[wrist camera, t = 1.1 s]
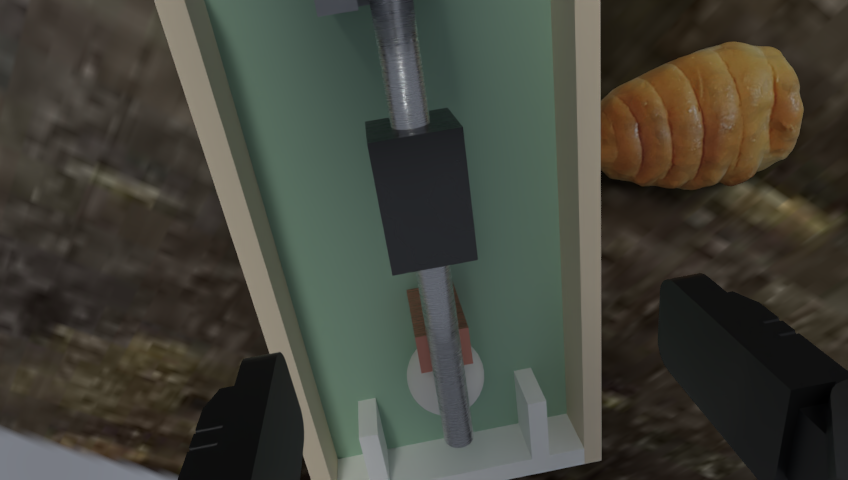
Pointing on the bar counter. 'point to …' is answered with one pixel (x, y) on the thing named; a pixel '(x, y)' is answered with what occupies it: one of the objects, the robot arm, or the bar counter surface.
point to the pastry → (702, 119)
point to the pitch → (363, 230)
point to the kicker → (424, 209)
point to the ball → (425, 385)
